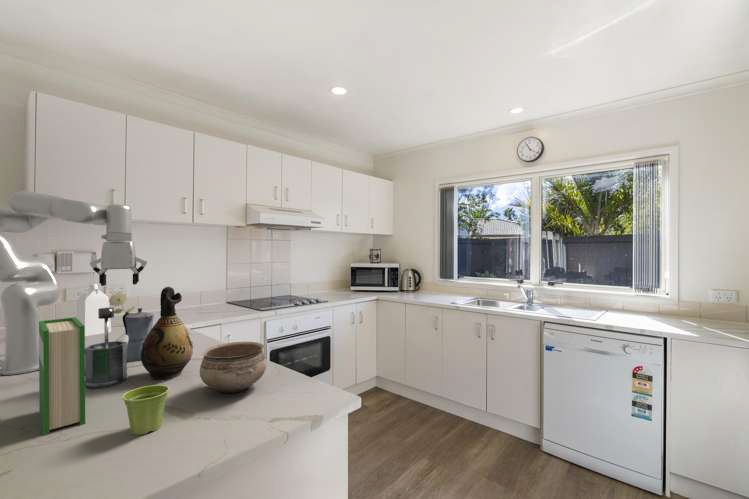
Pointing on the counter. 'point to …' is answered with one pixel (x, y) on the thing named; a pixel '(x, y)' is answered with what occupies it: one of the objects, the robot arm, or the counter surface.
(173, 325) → the ceramic jug
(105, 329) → the dark grey stemmed piece
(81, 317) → the milk
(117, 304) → the flower in vase
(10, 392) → the counter surface
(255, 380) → the cooking pot
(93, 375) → the carafe
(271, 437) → the counter surface
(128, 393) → the plant pot
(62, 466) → the counter surface
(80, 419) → the hardback book
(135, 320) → the moka pot
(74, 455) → the counter surface
